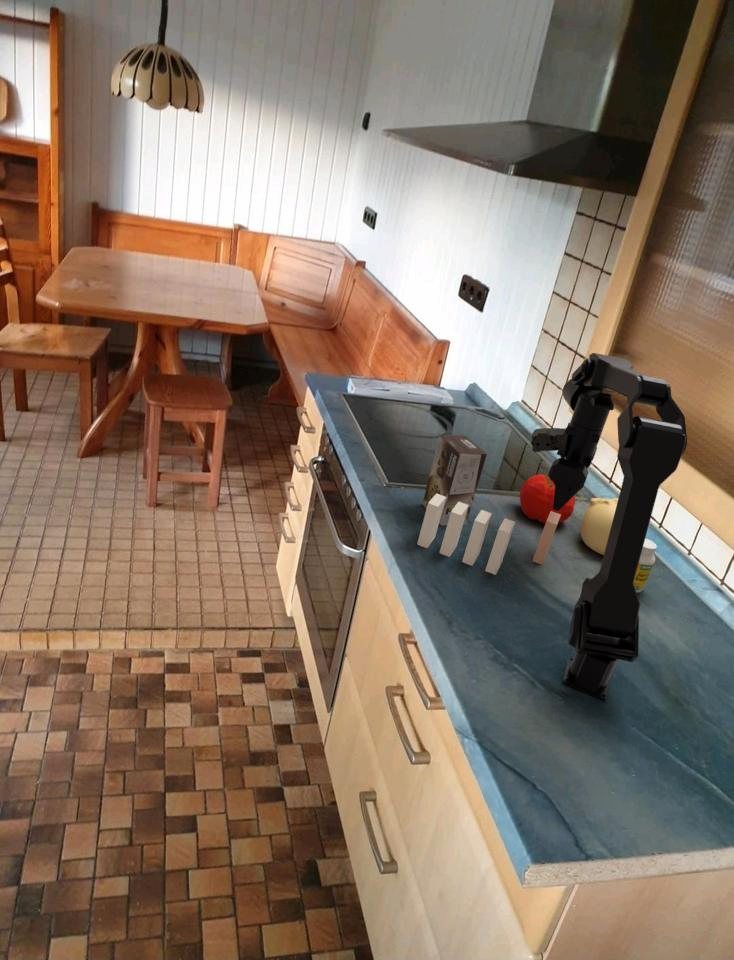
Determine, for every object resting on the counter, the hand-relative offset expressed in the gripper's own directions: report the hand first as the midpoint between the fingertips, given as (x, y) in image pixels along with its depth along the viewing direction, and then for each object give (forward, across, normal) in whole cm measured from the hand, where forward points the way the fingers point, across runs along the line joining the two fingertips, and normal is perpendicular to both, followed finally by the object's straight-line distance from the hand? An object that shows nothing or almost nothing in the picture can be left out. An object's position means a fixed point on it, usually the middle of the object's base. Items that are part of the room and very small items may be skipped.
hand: (559, 500), depth 131 cm
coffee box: (+13, -3, -21) cm, 25 cm away
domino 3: (+13, +10, -12) cm, 20 cm away
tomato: (+13, -18, -3) cm, 22 cm away
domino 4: (+13, +10, -7) cm, 18 cm away
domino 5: (+13, 0, 0) cm, 13 cm away
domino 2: (+13, +10, -16) cm, 23 cm away
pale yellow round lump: (+13, -14, +11) cm, 22 cm away
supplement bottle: (+13, -2, +17) cm, 22 cm away
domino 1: (+13, +10, -20) cm, 26 cm away
